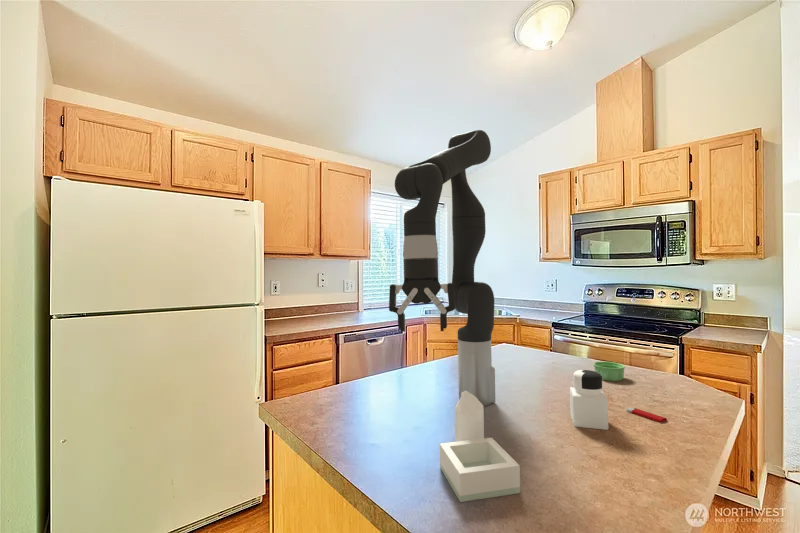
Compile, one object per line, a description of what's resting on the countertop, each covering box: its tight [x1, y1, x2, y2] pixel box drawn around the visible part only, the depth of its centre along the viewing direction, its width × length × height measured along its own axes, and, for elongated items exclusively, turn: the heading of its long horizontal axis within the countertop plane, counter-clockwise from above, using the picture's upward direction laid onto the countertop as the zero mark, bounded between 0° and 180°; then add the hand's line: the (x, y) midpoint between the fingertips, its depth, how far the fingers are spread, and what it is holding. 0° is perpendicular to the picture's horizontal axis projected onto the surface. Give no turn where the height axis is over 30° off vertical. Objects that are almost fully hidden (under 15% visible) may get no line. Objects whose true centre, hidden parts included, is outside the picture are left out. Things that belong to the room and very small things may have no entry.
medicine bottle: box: [569, 369, 609, 431], centre depth 87 cm, size 7×7×12 cm
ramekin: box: [593, 360, 625, 382], centre depth 122 cm, size 9×9×4 cm
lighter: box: [626, 407, 668, 424], centre depth 90 cm, size 3×1×8 cm
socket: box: [439, 437, 521, 503], centre depth 65 cm, size 10×10×4 cm
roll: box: [454, 391, 485, 442], centre depth 76 cm, size 6×12×6 cm
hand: (422, 330), depth 81 cm, fingers open, 8 cm apart
